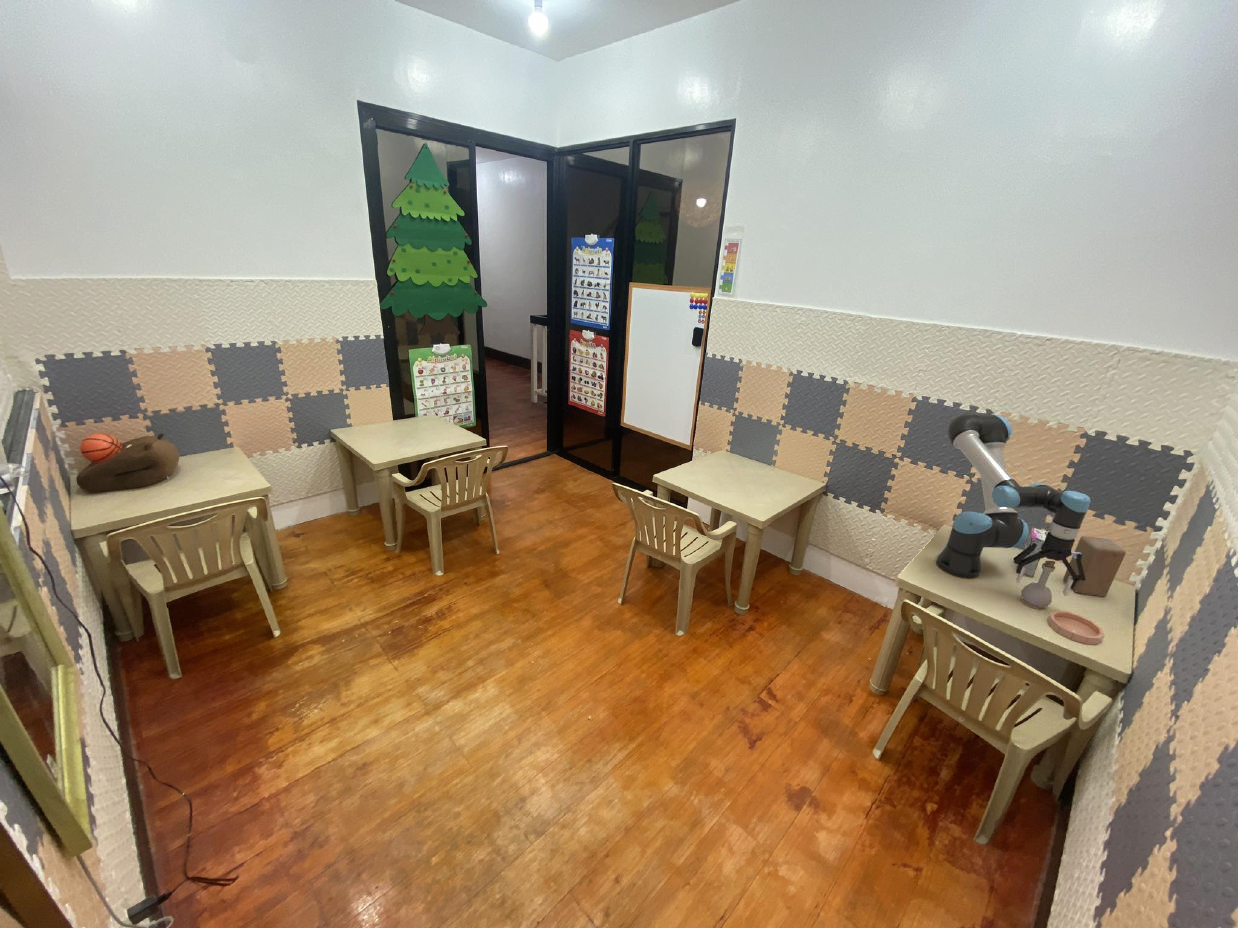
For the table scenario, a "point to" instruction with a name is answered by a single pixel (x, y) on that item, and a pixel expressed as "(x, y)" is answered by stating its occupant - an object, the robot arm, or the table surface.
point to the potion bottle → (1039, 589)
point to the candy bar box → (1039, 538)
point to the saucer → (1076, 627)
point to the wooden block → (1096, 565)
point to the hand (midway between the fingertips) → (1040, 587)
